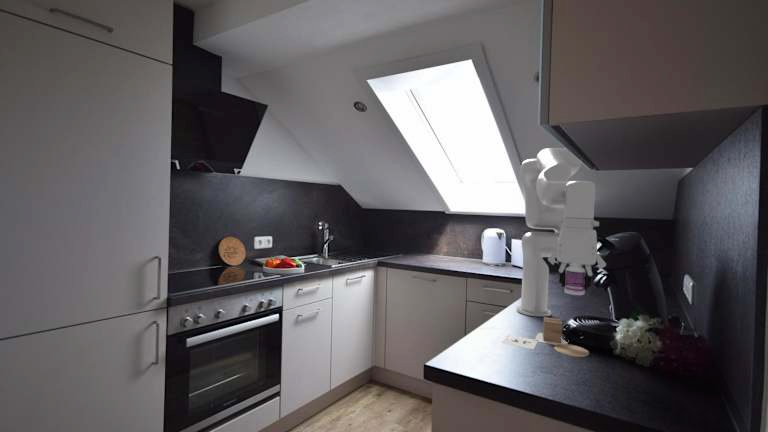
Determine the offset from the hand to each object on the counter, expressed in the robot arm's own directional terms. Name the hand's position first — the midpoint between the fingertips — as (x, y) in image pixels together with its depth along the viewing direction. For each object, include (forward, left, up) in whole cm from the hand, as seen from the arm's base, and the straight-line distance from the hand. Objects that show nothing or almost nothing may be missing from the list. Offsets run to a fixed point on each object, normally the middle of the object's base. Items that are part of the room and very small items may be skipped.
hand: (574, 287), depth 111 cm
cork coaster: (0, 0, -19) cm, 19 cm away
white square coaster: (+1, -14, -19) cm, 23 cm away
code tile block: (-7, -6, -19) cm, 21 cm away
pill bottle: (0, 0, -2) cm, 2 cm away
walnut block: (-7, -6, -18) cm, 21 cm away
